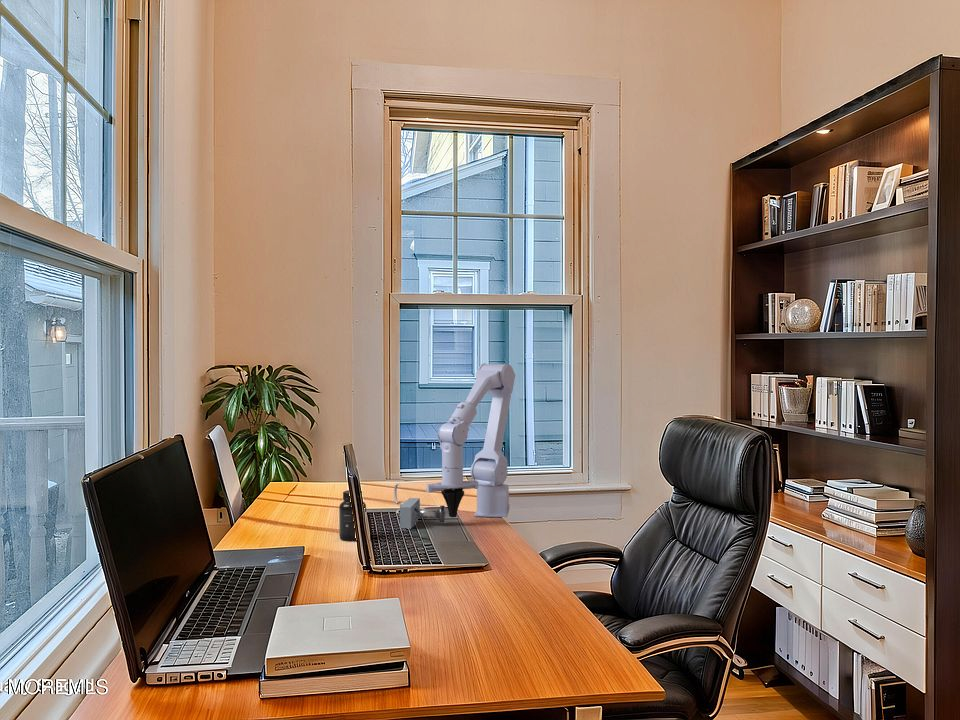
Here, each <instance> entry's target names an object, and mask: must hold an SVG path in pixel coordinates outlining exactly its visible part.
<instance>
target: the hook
mask: <svg viewBox="0 0 960 720" xmlns="http://www.w3.org/2000/svg"><path fill="white" fill-rule="evenodd" d="M398 486H401V483H400V482H396V483H395V485H394V488H393V497H394V498H393V499H394V501H395V502H396V503H399V501H398V497H397V496H398V495H397V493H398V492H397V489H398ZM396 503H395V504H396ZM404 503H405V502H401V503H399V505H401V506H402V505H403V504H404ZM399 505H398V506H399ZM420 509H426V508H424V507H421V506H420ZM399 511H400V508H399V509H397V510H396V511H395V513H396V512H397V513H400V512H399Z"/></svg>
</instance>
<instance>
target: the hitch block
mask: <svg viewBox="0 0 960 720" xmlns="http://www.w3.org/2000/svg"><path fill="white" fill-rule="evenodd" d="M403 503H404V504H403V505H402V506H399V509H400V512H399V513H400V515H399V529H400V528H407V529H408V528H410V529H411V528H412V527H413V525H414V524H415V523H416V522H417V521H418V519H419V518H414V509H420V507H421V498H420V497H409V498H408V499H406V501H405V502H403ZM418 522H419V521H418ZM418 522H417V523H418ZM417 523H416V524H417ZM416 524H415V525H416ZM415 525H414V526H415ZM413 528H414V527H413ZM413 528H412V529H413ZM412 529H411V530H412Z"/></svg>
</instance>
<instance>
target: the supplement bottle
mask: <svg viewBox="0 0 960 720" xmlns="http://www.w3.org/2000/svg"><path fill="white" fill-rule="evenodd" d="M349 490H350V489H348V490H344V491H343V492H342V500H343V501H342V502H341V503H340V504H339V506H338V518H339V519H338V520H339V521H338V522H339V523H338V525H339V526H338V527H339V529H338V531H339V539H340V540H342V541H345V542H357V541H356V538H355V528H354V521H353V514H352V507H351V502H350V496H349ZM360 491H361V493H362V494H363V491H362V490H360ZM363 504H364V508H365V512H366V513H367V504H366V503H365V502H364V501H363Z"/></svg>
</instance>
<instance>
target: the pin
mask: <svg viewBox="0 0 960 720" xmlns="http://www.w3.org/2000/svg"><path fill="white" fill-rule="evenodd" d="M414 518H420V519H438V520H439V523H445V520H446V506H445V505H440V506H439V509H436V508H435V509H433V508H431V509H430V508H429V509H428V508H425V509H414Z"/></svg>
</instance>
